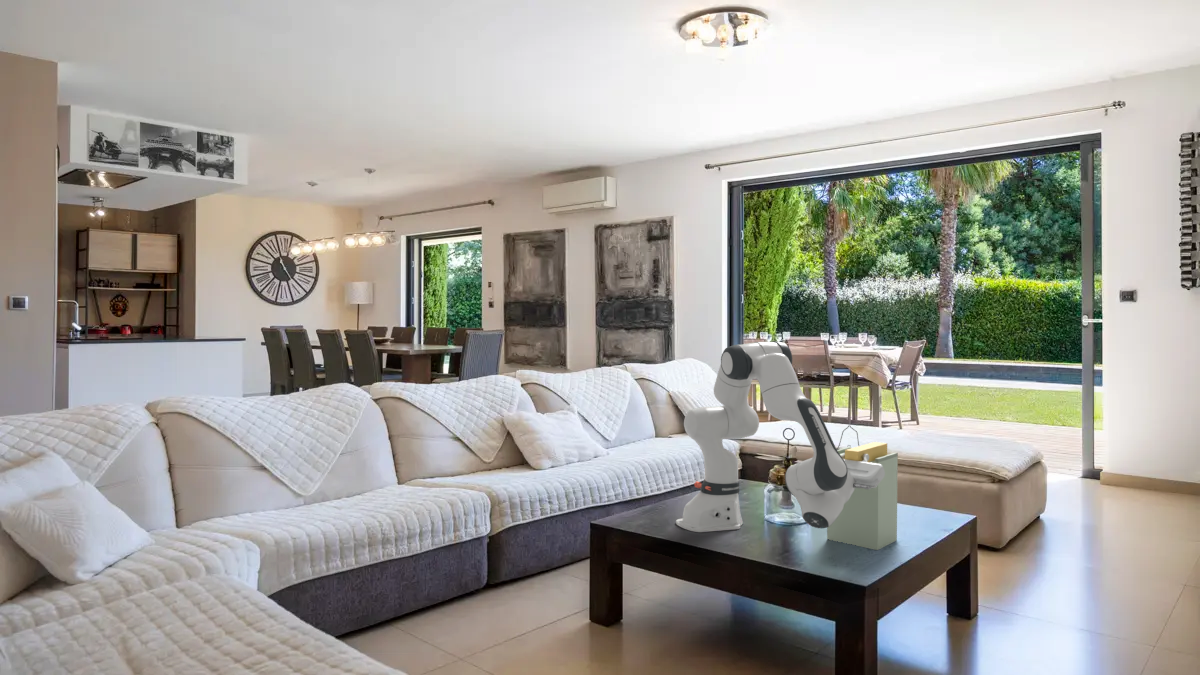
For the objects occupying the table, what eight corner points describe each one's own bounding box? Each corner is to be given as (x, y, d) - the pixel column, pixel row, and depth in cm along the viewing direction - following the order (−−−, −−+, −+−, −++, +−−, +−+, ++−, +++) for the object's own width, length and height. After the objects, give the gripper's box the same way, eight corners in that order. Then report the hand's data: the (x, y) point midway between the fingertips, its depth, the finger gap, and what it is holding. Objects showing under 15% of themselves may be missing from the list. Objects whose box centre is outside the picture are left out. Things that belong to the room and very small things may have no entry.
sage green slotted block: (877, 550, 228) (878, 459, 228) (827, 539, 239) (827, 452, 239) (896, 540, 239) (897, 452, 238) (847, 530, 249) (848, 447, 249)
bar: (857, 465, 223) (858, 451, 223) (844, 463, 226) (844, 450, 226) (887, 456, 237) (887, 443, 237) (874, 454, 240) (874, 441, 240)
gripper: (871, 480, 210) (890, 449, 219) (803, 470, 224) (823, 442, 233) (876, 498, 213) (894, 467, 221) (808, 487, 227) (828, 458, 235)
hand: (857, 454), depth 227 cm, fingers closed on bar, 4 cm apart
